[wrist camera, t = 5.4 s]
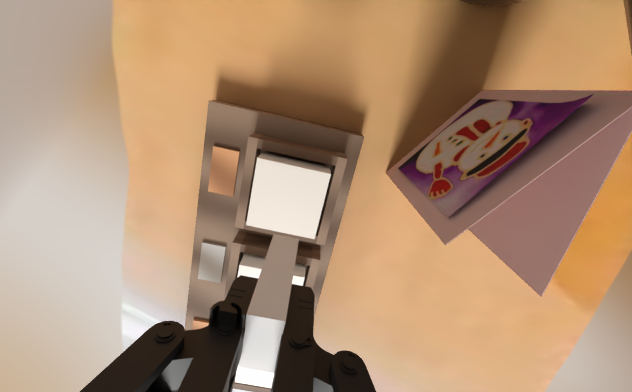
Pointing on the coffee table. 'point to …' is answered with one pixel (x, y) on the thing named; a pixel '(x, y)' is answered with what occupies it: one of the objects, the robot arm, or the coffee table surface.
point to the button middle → (254, 264)
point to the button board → (235, 192)
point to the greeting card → (518, 172)
